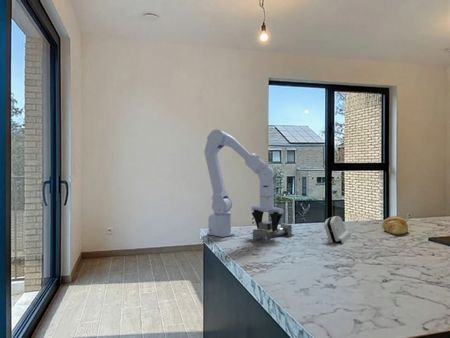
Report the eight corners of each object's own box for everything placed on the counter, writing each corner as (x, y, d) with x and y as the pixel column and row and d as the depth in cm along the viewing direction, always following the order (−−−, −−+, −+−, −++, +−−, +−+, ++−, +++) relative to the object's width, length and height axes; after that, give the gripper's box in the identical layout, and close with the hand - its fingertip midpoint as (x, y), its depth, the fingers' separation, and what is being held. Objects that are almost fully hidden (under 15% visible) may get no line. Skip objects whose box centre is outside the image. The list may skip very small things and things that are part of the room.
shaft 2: (278, 237, 146) (278, 226, 146) (269, 234, 151) (269, 224, 151) (293, 235, 149) (293, 225, 149) (284, 233, 155) (284, 222, 155)
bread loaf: (404, 245, 146) (415, 228, 144) (380, 232, 148) (390, 215, 147) (399, 234, 165) (408, 219, 164) (378, 223, 168) (387, 208, 167)
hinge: (343, 244, 133) (333, 217, 134) (330, 247, 135) (321, 221, 136) (351, 235, 147) (342, 212, 149) (340, 238, 150) (331, 215, 151)
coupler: (265, 235, 150) (265, 221, 150) (274, 237, 147) (274, 222, 147) (258, 237, 147) (258, 222, 146) (267, 238, 143) (267, 223, 143)
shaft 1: (256, 238, 145) (256, 227, 145) (272, 239, 142) (272, 228, 142) (250, 241, 138) (250, 230, 138) (266, 243, 135) (266, 231, 135)
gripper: (246, 196, 149) (246, 229, 149) (275, 198, 139) (275, 233, 139) (257, 195, 154) (257, 226, 154) (285, 196, 144) (286, 230, 144)
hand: (266, 229), depth 147 cm, fingers open, 7 cm apart
